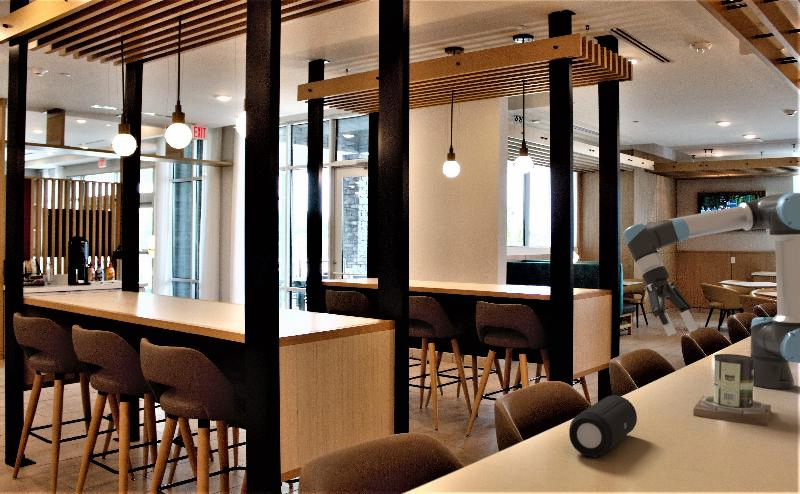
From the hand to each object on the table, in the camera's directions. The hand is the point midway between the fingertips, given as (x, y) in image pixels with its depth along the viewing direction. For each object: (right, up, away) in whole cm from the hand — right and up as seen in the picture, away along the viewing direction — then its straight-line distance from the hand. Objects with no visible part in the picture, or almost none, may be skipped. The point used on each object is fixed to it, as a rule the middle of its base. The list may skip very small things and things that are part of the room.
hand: (683, 332), depth 211 cm
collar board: (+7, -21, -16) cm, 27 cm away
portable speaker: (-39, -21, -49) cm, 65 cm away
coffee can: (+8, -19, -16) cm, 26 cm away
